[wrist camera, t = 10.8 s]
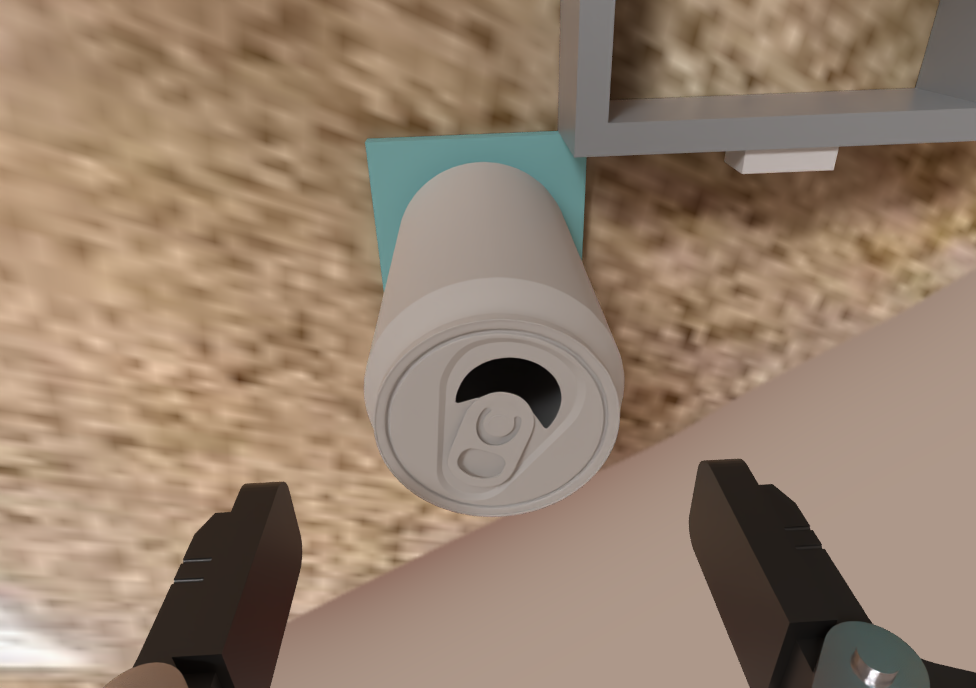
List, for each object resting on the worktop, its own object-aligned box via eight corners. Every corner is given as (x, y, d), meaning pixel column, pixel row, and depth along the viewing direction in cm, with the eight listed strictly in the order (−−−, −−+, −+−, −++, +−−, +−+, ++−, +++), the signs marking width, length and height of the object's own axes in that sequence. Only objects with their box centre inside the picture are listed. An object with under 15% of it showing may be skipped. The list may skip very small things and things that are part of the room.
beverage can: (591, 191, 24) (690, 356, 14) (526, 331, 27) (567, 555, 17) (429, 130, 23) (404, 261, 12) (379, 285, 26) (325, 496, 15)
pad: (367, 138, 23) (365, 142, 23) (584, 129, 23) (587, 133, 23) (390, 330, 27) (389, 336, 27) (576, 321, 27) (579, 328, 27)
